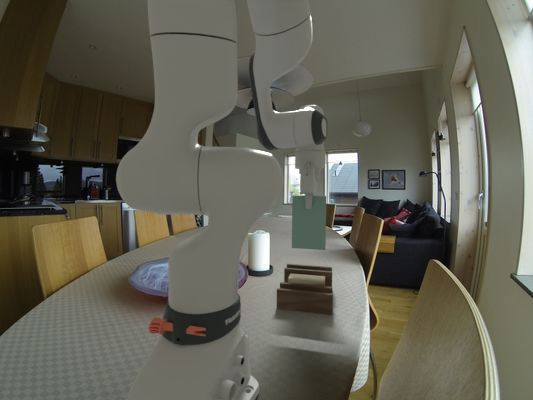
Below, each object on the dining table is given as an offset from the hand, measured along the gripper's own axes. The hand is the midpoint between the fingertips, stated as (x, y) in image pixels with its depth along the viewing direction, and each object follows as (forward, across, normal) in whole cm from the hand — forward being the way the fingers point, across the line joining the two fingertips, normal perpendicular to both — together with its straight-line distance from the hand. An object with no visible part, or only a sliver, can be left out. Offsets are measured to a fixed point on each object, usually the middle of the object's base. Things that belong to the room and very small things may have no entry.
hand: (309, 208), depth 77 cm
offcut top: (+21, -6, 0) cm, 22 cm away
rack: (+27, -6, 0) cm, 27 cm away
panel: (+12, 0, 0) cm, 12 cm away
